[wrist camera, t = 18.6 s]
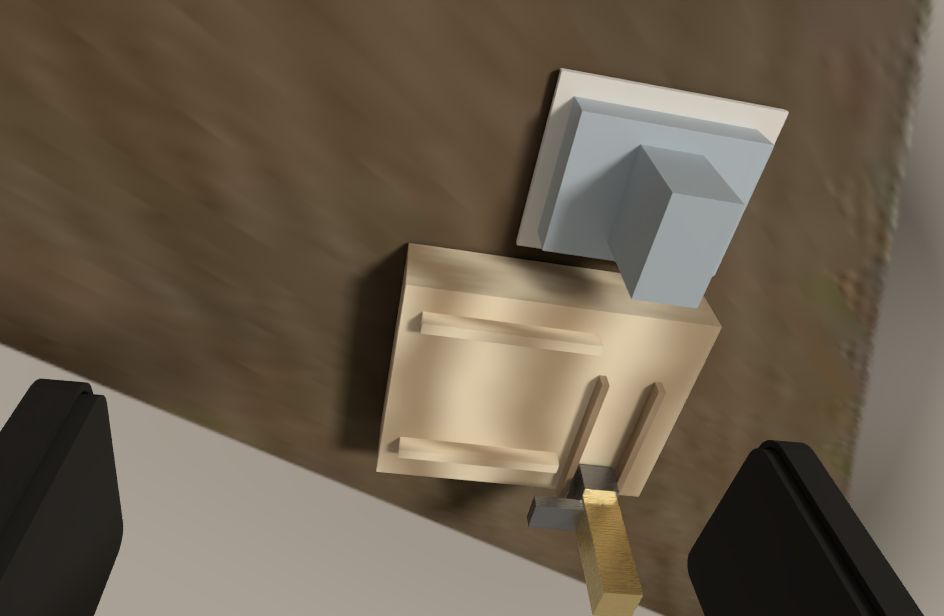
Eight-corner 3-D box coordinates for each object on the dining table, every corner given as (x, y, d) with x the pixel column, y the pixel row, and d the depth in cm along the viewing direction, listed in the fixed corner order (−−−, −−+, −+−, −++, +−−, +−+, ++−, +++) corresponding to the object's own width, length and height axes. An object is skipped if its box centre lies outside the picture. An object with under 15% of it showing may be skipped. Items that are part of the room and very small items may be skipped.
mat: (516, 241, 35) (516, 245, 35) (560, 67, 30) (561, 70, 30) (712, 270, 37) (714, 274, 37) (785, 109, 32) (788, 112, 32)
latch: (520, 493, 40) (536, 617, 34) (532, 459, 39) (551, 582, 32) (597, 501, 41) (627, 623, 35) (612, 467, 40) (646, 589, 33)
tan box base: (381, 422, 42) (374, 485, 38) (408, 242, 35) (405, 296, 31) (623, 448, 45) (642, 509, 41) (696, 284, 37) (728, 339, 33)
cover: (537, 230, 35) (557, 309, 29) (574, 96, 31) (605, 155, 25) (701, 255, 36) (751, 335, 30) (757, 129, 32) (827, 193, 26)
